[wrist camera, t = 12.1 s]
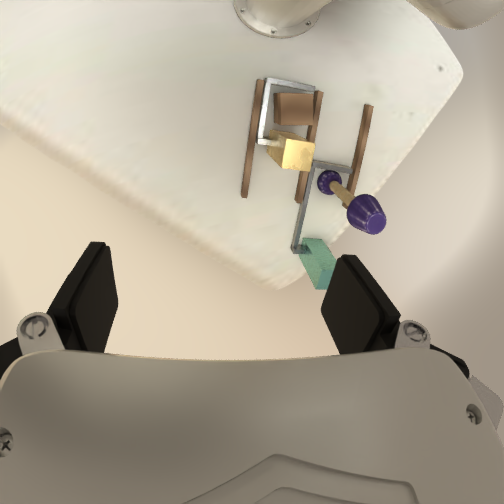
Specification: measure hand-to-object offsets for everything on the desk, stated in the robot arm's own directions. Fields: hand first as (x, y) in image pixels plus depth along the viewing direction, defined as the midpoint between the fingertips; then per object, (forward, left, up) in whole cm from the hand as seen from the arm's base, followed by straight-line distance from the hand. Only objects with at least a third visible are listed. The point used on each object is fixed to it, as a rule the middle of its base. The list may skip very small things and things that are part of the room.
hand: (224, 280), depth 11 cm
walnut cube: (-7, +10, -33) cm, 36 cm away
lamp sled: (+9, +18, -33) cm, 39 cm away
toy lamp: (+4, +19, -34) cm, 38 cm away
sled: (-6, +10, -33) cm, 35 cm away
